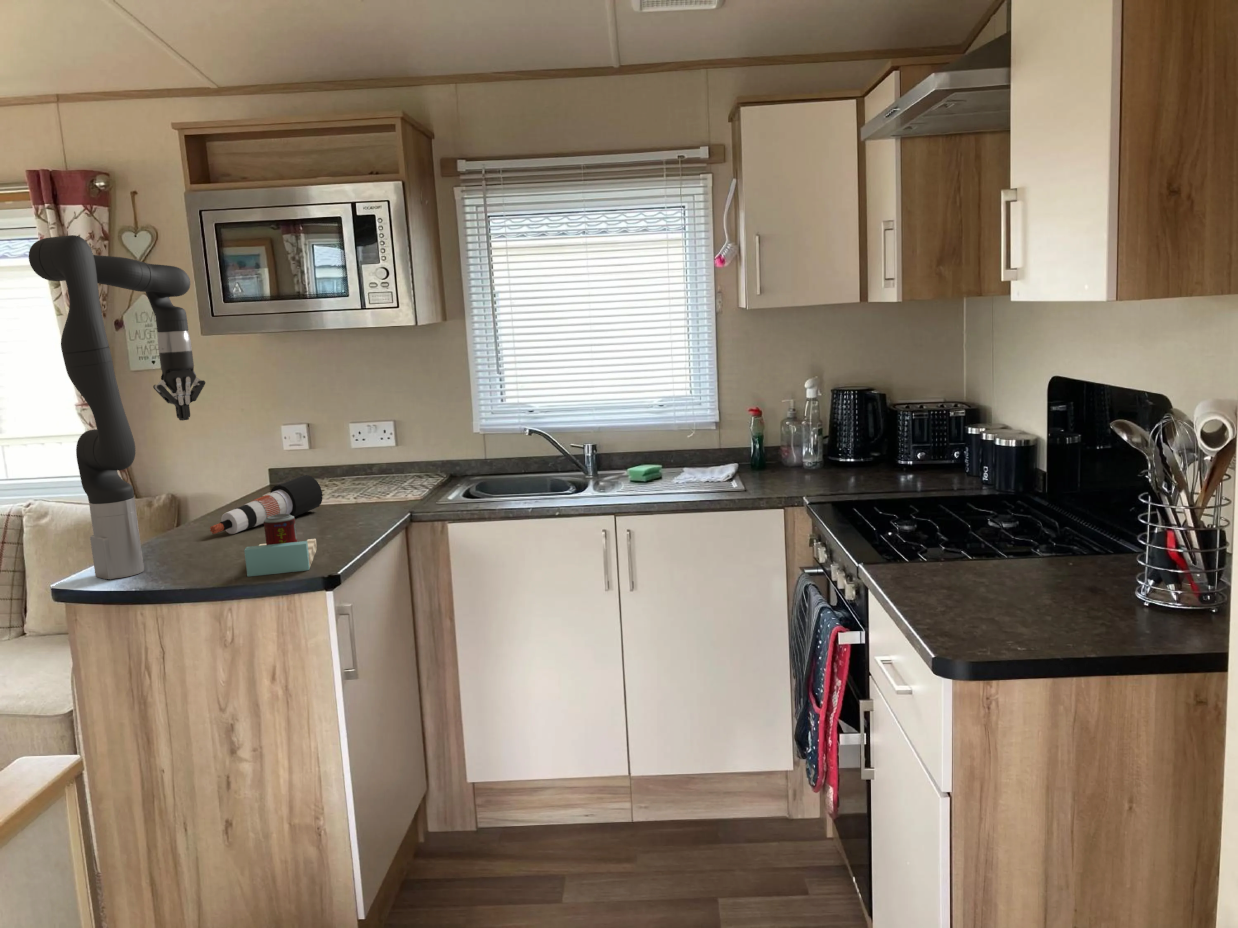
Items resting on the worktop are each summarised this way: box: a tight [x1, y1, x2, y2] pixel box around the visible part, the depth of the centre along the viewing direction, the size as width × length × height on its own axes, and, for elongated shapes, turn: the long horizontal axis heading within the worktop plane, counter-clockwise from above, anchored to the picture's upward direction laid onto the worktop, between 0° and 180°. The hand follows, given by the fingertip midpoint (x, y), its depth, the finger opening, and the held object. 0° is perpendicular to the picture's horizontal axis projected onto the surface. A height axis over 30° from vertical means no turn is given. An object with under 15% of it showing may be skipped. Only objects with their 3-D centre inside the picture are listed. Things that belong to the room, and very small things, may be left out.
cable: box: [209, 474, 323, 535], centre depth 272 cm, size 10×34×10 cm, turn 151°
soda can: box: [263, 514, 298, 545], centre depth 224 cm, size 7×7×12 cm
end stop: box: [244, 540, 311, 577], centre depth 219 cm, size 3×13×6 cm, turn 102°
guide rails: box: [258, 538, 318, 567], centre depth 229 cm, size 19×13×2 cm
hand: (184, 420), depth 247 cm, fingers closed
